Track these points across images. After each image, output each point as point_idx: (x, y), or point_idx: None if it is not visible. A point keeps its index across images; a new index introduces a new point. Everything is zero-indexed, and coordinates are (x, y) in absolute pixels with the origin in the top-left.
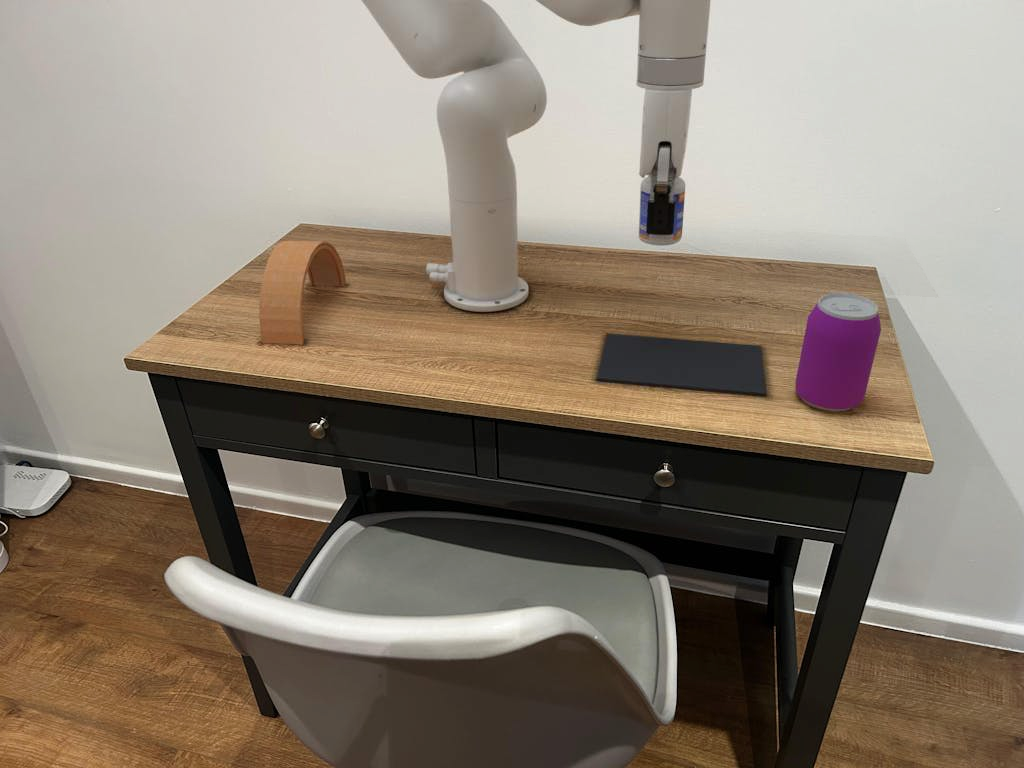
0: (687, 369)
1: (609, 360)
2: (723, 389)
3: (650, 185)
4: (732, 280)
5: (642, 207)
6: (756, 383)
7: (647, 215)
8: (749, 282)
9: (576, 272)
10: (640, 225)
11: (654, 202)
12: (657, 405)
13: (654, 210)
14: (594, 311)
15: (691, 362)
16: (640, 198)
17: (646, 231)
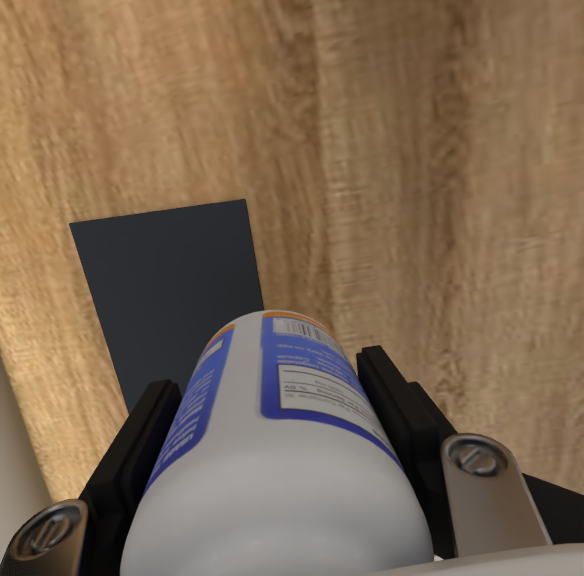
0: (166, 357)
1: (141, 230)
2: (128, 412)
3: (136, 561)
4: (532, 369)
5: (195, 397)
6: None
7: (122, 429)
8: (526, 395)
9: (543, 46)
10: (222, 343)
11: (96, 516)
12: (47, 332)
13: (82, 493)
14: (345, 146)
15: (191, 359)
16: (229, 398)
17: (149, 383)
